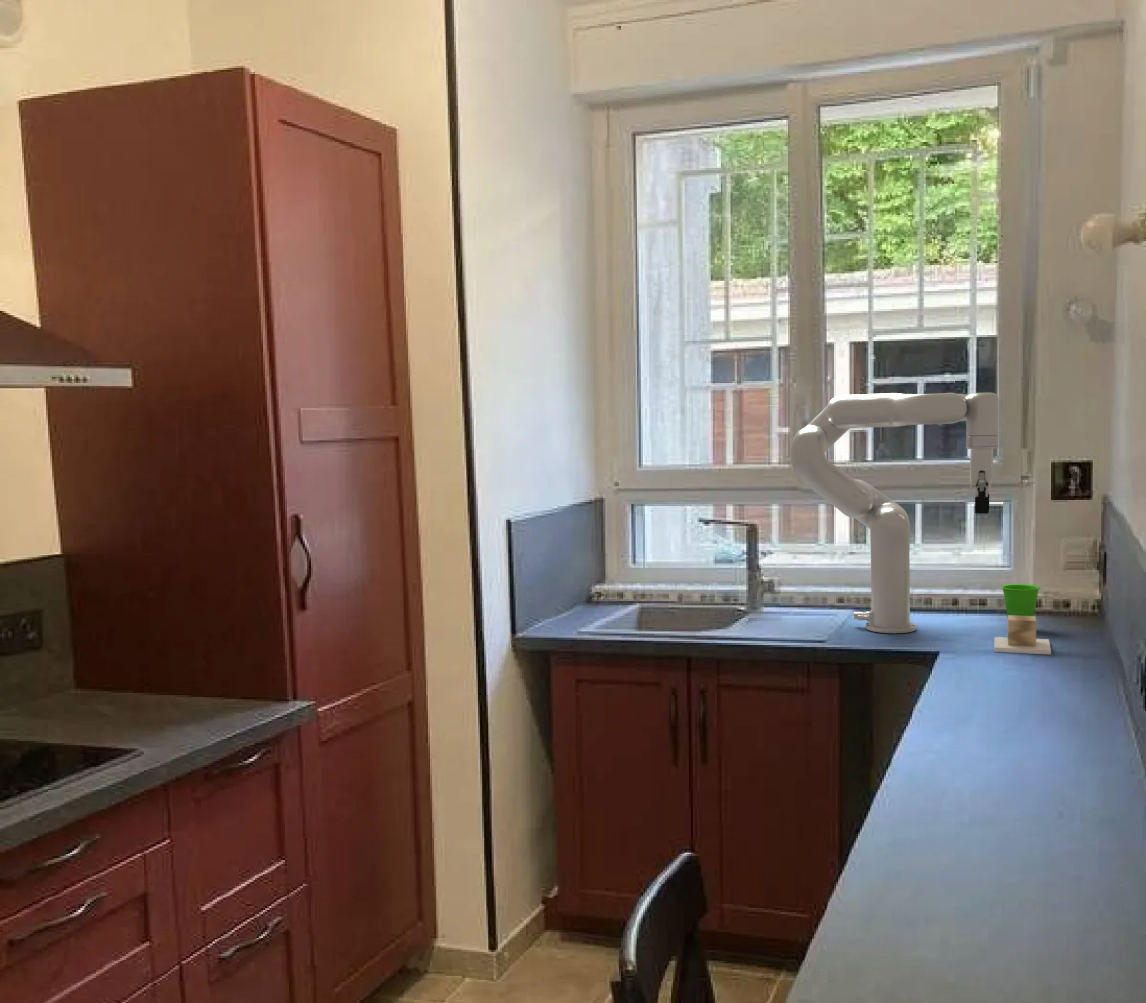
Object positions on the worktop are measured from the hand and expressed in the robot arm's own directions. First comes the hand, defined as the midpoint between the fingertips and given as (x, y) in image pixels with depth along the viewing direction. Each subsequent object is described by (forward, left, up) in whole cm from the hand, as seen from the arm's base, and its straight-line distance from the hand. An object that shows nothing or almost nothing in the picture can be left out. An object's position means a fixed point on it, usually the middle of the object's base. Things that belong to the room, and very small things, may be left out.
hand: (982, 511), depth 275 cm
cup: (+9, +4, -31) cm, 32 cm away
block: (+9, -17, -29) cm, 35 cm away
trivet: (+9, -17, -30) cm, 36 cm away
